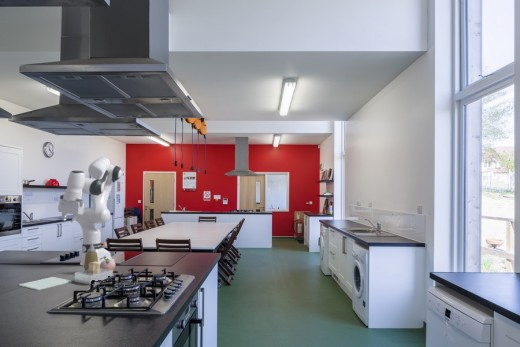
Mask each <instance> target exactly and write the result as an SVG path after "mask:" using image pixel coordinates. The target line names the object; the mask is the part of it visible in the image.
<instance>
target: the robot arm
mask: <svg viewBox="0 0 520 347" xmlns="http://www.w3.org/2000/svg"><path fill="white" fill-rule="evenodd" d="M87 170H88V171H87V172H88V174H89V176H90V177H86V172H85V171H82V170H71V171H70V172H69V175H68V178H67V182H66V190H65V192H64V193H63V194H61V195H60V196H59V202H58V206H57V207H58V208H57V210H58V212H60V213H61V216H62V218H61V220H62V221H64V222H65V221H67V219H68V217H67V214H69V215H72V216H73V217H72V219H71V221H70V222H71V223H74V224H75V223H76V222H77V223H78V224H79V225H80V227H81V230H82V237H83V238H82V246H81V249H82V255H81V260H80V263H79V265H80V266H83V267H84V263H85V255H86V253H88V252H87V250H88V249H89V248H90V244H91V243H93V247H94V249H96V253H97V256H98V262H100V263H101V262H102V261H103V260H105V259H107V258H108V259H110V260H113V261H114V262H115V259H114V258H112V255H111V252H110V251H109V250H107V249H105V248H104V247H106V242H102V240H101V239H102V233H101V230H100V229H98V228H97V226H96V224H98V225H99V224H105V223H107V222H109V221H110V219H111V211H110V210H109V209H108V200H109V197H110V194H111V192H112V188H113V183H115V182H116V181H119V179H121V176H122V173H123V171H122V170H123V169H122V168H121V166H118V165H114V164H111V161H110V160H109V158H107V157H103V156H102V157H99V158H97V159H95V160H94V161H93V162H91V163H90V164H89V166H88V169H87ZM91 177H92V178H91ZM83 194H84V195H85V194H86V195H91V196H90V200H91V202H92V203H93V207H85V204H84V200H83V199H82V198H83Z"/></svg>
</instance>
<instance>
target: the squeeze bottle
mask: <svg viewBox="0 0 520 347" xmlns="http://www.w3.org/2000/svg"><path fill="white" fill-rule="evenodd" d="M87 252H88V253H86V255H85V263H84V266H83V269H84V270H88V269H89V263H91V262H98V256H97V253H96V249H94V247H93V243H91V244H90V248H89V249H88V250H87Z"/></svg>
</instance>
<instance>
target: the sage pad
mask: <svg viewBox="0 0 520 347" xmlns="http://www.w3.org/2000/svg"><path fill="white" fill-rule="evenodd" d="M72 282H73V281H72V280H70V279H64V278H60V277H55V276H50V277H45V278H41V279H38V280H34V281H29V282H24V283H19V284H18V286H19V287H23V288H28V289H31V290H36V291H41V290H44V289H49V288H53V287H56V286H57V287H58V286H60V285H64V284H69V283H72Z"/></svg>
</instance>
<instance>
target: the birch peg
mask: <svg viewBox="0 0 520 347" xmlns="http://www.w3.org/2000/svg"><path fill="white" fill-rule="evenodd" d="M99 271H100V262H91V263H89V272H90V273H95V272H99Z"/></svg>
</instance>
